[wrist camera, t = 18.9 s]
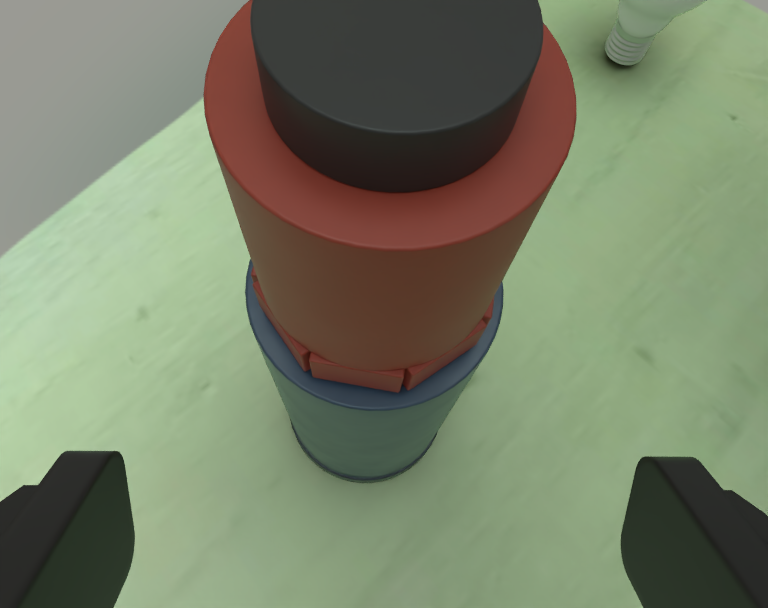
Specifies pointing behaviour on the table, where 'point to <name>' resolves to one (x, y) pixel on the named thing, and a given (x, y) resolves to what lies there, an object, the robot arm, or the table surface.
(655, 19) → the lightbulb
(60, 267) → the table surface
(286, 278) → the lid
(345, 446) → the flask
